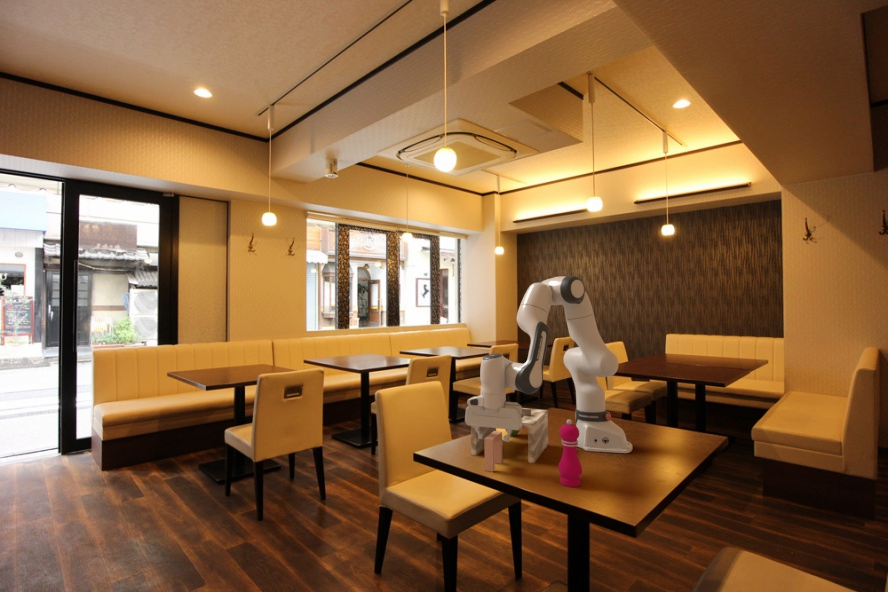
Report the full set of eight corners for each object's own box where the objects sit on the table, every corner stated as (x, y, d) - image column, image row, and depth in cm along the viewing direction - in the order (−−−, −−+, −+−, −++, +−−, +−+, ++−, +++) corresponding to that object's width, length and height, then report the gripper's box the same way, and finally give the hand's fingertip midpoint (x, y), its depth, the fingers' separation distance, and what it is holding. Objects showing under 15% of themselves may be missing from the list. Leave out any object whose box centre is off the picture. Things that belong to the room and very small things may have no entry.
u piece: (502, 462, 163) (502, 431, 164) (493, 472, 154) (492, 439, 154) (494, 461, 165) (494, 430, 165) (484, 470, 155) (484, 438, 156)
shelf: (548, 445, 184) (547, 404, 185) (533, 463, 162) (533, 417, 163) (491, 438, 194) (491, 399, 195) (471, 454, 173) (470, 411, 173)
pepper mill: (555, 479, 147) (554, 417, 147) (577, 478, 147) (576, 416, 148) (563, 488, 140) (562, 422, 140) (586, 487, 140) (584, 421, 141)
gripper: (524, 401, 159) (524, 441, 158) (469, 396, 167) (470, 434, 167) (519, 404, 153) (520, 446, 152) (463, 399, 161) (463, 439, 161)
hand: (493, 440), depth 160 cm, fingers open, 8 cm apart
